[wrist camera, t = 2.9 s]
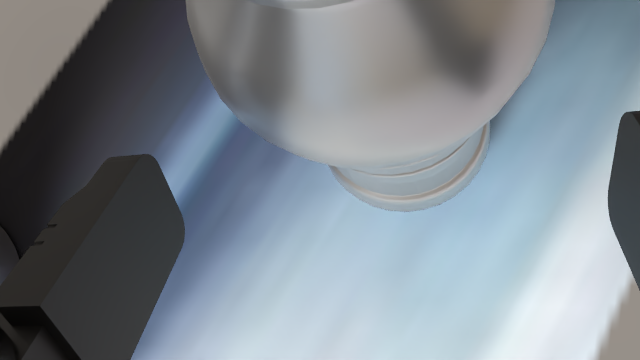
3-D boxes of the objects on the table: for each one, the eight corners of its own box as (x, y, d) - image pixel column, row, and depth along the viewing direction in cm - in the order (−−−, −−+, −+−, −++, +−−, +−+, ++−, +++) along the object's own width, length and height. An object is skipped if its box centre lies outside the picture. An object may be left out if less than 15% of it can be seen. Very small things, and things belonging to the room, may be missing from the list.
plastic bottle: (345, 66, 25) (13, -549, 6) (496, 81, 23) (754, -708, 4) (322, 202, 24) (-131, 38, 5) (474, 227, 23) (654, 123, 4)
